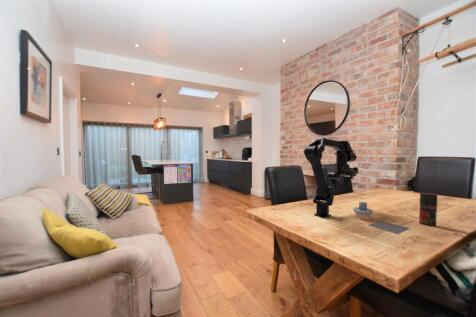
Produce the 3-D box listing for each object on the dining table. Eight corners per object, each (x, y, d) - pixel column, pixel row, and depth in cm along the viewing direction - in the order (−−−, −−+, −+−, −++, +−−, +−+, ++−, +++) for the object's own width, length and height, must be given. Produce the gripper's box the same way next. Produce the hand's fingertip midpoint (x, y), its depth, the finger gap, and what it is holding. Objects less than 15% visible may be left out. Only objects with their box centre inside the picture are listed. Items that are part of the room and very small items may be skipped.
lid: (367, 215, 103) (367, 205, 103) (350, 210, 110) (350, 202, 110) (376, 212, 107) (376, 203, 107) (359, 208, 115) (359, 200, 114)
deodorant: (419, 222, 104) (419, 192, 103) (435, 225, 100) (436, 193, 99) (419, 226, 99) (420, 194, 98) (436, 229, 95) (437, 195, 95)
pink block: (365, 222, 104) (366, 214, 104) (352, 218, 110) (353, 211, 110) (372, 219, 108) (373, 212, 108) (359, 216, 113) (360, 209, 113)
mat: (397, 235, 88) (397, 234, 88) (367, 226, 98) (367, 225, 98) (410, 229, 94) (410, 228, 94) (380, 222, 105) (380, 220, 105)
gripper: (343, 164, 112) (343, 193, 112) (365, 162, 120) (364, 189, 121) (326, 162, 121) (325, 190, 122) (347, 161, 130) (346, 186, 131)
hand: (341, 189), depth 124 cm, fingers open, 9 cm apart
